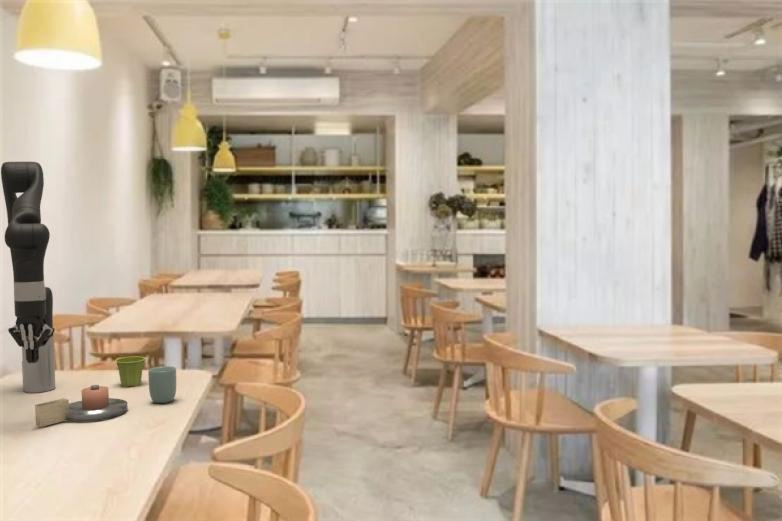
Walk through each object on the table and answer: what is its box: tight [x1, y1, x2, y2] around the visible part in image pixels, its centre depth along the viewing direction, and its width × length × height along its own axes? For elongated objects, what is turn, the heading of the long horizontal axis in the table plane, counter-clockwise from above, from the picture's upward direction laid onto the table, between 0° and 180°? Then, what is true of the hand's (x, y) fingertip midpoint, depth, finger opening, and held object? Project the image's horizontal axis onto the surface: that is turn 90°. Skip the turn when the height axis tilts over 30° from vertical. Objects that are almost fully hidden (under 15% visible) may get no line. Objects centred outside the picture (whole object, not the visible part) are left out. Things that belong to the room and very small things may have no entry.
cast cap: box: [81, 384, 110, 410], centre depth 198 cm, size 7×7×6 cm
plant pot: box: [114, 355, 146, 388], centre depth 233 cm, size 9×9×9 cm
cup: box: [147, 365, 177, 404], centre depth 211 cm, size 8×8×10 cm
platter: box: [34, 397, 128, 428], centre depth 196 cm, size 18×25×6 cm
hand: (32, 362), depth 189 cm, fingers closed
